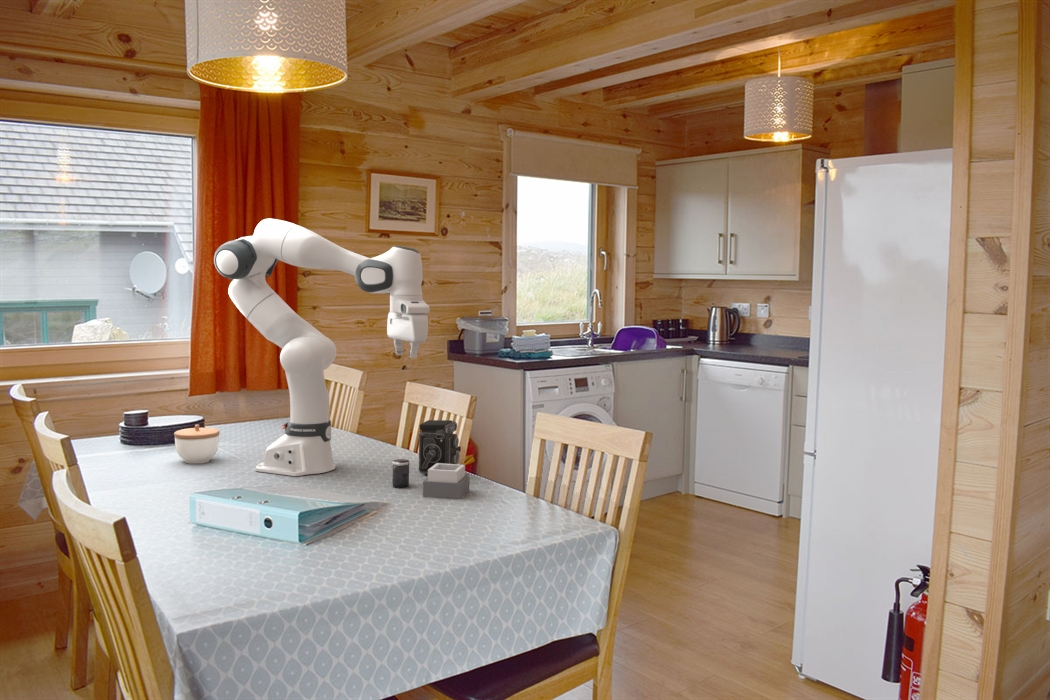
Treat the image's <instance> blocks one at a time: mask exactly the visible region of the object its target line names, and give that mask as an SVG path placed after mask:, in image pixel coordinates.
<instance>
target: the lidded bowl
mask: <svg viewBox="0 0 1050 700" xmlns="http://www.w3.org/2000/svg"><path fill="white" fill-rule="evenodd" d="M173 435H174V444H175V449H176V452H177V455H178V456H179V458H181V460H183V461H184V463H185V464H193V465H195V464H205V463H209V462H210V461H211V460H212V458H213V457H214V456H215V455H216V454H217V452H218V449H219V444H220V429H218V428H214V427H200V424H195V425H194V427H188V428H184V429H183V428H182V429H179V430H176V431H175V432H174V433H173Z"/></svg>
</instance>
